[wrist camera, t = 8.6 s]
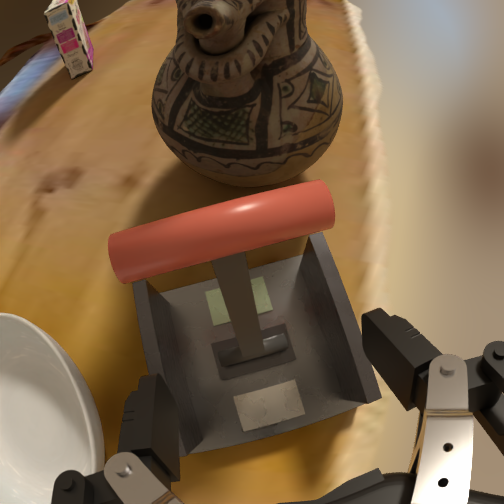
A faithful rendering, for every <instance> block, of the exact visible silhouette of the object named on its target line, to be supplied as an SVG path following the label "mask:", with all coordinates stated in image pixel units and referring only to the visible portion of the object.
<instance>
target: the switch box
mask: <svg viewBox="0 0 504 504" xmlns="http://www.w3.org/2000/svg"><path fill="white" fill-rule="evenodd" d="M248 270H249V275H250V280H251V285H252V290H253V295H254V300H255V305H256V309H257V314H258V319H259V324H260V329H261V334H262V339H266V338H269V337H273V336H276V335H280V334H283V333H284V335H285V337H286V340H287V343H288V349H285V350H282V351H279V352H275V353H272V354H269V355H265V356H262V357H258V358H255V359H251V360H247V361H244V362H240V363H236V364H232V365H228V366H224V367H222V366H221V364H220V361H219V357H218V351H222V350H226V349H230V348H233V347H237V346H239V344H238V341H237V338H236V335H235V332H234V329H233V326H232V323H231V320H230V317H229V314H228V311H227V308H226V305H225V302H224V299H223V296H222V293H221V290H220V287H219V284H218V281H217V278H215V279H211V280H207V281H204V282H200V283H196V284H192V285H189V286H185V287H181V288H177V289H173V290H170V291H166V292H162V293H159V292H158V291H157V290H156V289H155V288H154V287H153V286H152V285H151V284H150V283H149V282H148V281H147V280H146V279H145V280H141V281H138V282H134V283H132V284H133V291H134V298H135V304H136V310H137V316H138V322H139V328H140V333H141V338H142V344H143V349H144V353H145V358H146V363H147V368H148V372H149V375H152V374H157V373H159V374H160V375H161V376H162V378H163V379H164V381H165V383H166V385H167V387H168V389H169V390H170V392H171V394H172V396H173V397H174V399H175V401H176V404H177V408H178V418H179V457H182V456H187V455H188V454H192V453H198V452H204V451H209V450H214V449H220V448H224V447H229V446H234V445H238V444H242V443H247V442H251V441H255V440H259V439H262V438H266V437H270V436H274V435H277V434H281V433H284V432H287V431H291V430H294V429H297V428H300V427H303V426H306V425H309V424H312V423H315V422H318V421H321V420H324V419H327V418H330V417H332V416H335V415H338V414H340V413H343V412H346V411H348V410H351V409H353V408H356V407H358V406H361V405H363V404H365V403H366V404H369V403H371V402H374V401H376V400H378V399H380V398H382V396H381V393H380V390H379V387H378V383H377V380H376V377H375V374H374V371H373V368H372V365H371V362H370V361H369V360H368V358H367V357H366V355H365V353H364V350H363V346H362V335H361V332H360V329H359V326H358V323H357V321H356V318H355V315H354V312H353V310H352V307H351V304H350V301H349V299H348V296H347V293H346V291H345V288H344V285H343V283H342V280H341V278H340V275H339V272H338V270H337V267H336V265H335V262H334V260H333V257H332V255H331V252H330V250H329V247H328V245H327V242H326V240H325V238H324V235H323V233H322V232H320V233H316V234H313V235H309V237H308V240H307V244H306V247H305V250H304V253H303V255H299V256H295V257H292V258H288V259H285V260H281V261H277V262H274V263H270V264H267V265H263V266H259V267H256V268H252V269H248Z"/></svg>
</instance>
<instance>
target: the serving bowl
mask: <svg viewBox="0 0 504 504" xmlns="http://www.w3.org/2000/svg"><path fill="white" fill-rule="evenodd" d="M104 463H105V447H104V437H103V431H102V426H101V421H100V417H99V414H98V410H97V407H96V404H95V402H94V399H93V396H92V394H91V392H90V390H89V388H88V386H87V384H86V381H85V380H84V378H83V376H82V374H81V373H80V371H79V369H78V368H77V366H76V365H75V363H74V362H73V361H72V359H71V358H70V357H69V355H68V354H67V353H66V352H65V351H64V349H63V348H62V347H61V346H60V345H59V344H58V343H57V342H56V341H55V340H54V339H53V338H52V337H51V336H49V335H48V334H47V333H46V332H44V331H43V330H42V329H40V328H39V327H37V326H36V325H34V324H33V323H31V322H29V321H28V320H26V319H24V318H22V317H19V316H17V315H13V314H9V313H0V504H51V500H52V493H53V487H54V482H55V480H56V478H57V477H58V476H59V475H60V474H61V473H62V472H64V471H67V470H76V471H78V472H80V473H81V474H82V475H83V476H87V475H90V474H93V473H96V472H99V471H102V470H104Z"/></svg>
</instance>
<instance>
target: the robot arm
mask: <svg viewBox="0 0 504 504" xmlns="http://www.w3.org/2000/svg"><path fill="white" fill-rule="evenodd" d="M361 322H362V346H363V350H364V353H365V355H366V357H367V358H368V360H369V361H370V362H371V364H372V365H373V366H374V368H375V369H376V370H377V372H378V373H379V374H380V376H381V377H382V378H383V380H384V381H385V382H386V384H387V385H388V386H389V388H390V389H391V390H392V392H393V393H394V394H395V396H396V397H397V398H398V400H399V401H400V402H401V404H402V405H403V407H404V408H405V409H406V411H409V410H411V409H412V408H415V407H417V408H418V409H419V411H420V412H419V417H418V423H417V430H416V436H415V442H414V447H413V453H412V457H411V461H410V464H409V468H408V472H407V473H402V472H396V473H386V474H381V472H380V470H379V468H377V469H375V470H372V471H370V472H368V473H365V474H363V475H361V476H358V477H356V478H353V479H351V480H348V481H347V482H345V483H344V484H342V485H341V486H339V487H337V488H336V489H334V490H333V491H331V492H329V493H328V494H326V495H324V496H323V497H321V498H319V499H317V500H311V501H301V502H287V503H278V504H504V496H499V495H493V494H488V493H484V492H479V491H475V490H470V489H469V483H470V474H471V463H472V448H473V415H474V417H475V418H476V419H477V420H478V422H479V423H480V424H481V426H482V427H483V428H484V430H485V431H486V432H487V434H488V435H489V436H490V438H491V439H492V441H493V442H494V443H495V444H496V446H497V447H498V449H499V450H500V451H501V453H502V454H503V456H504V395H503V394H502V392H503V393H504V342H502V341H494V342H491V343H489V344H488V345H487V346H486V347H485V349H484V352H483V355H482V356H479V357H475V358H471V359H468V360H462V359H461V358H460V357H458V356H456V355H452V354H444V355H443V354H442V353H441V352H440V351H439V350H438V349H437V348H436V347H434V346H433V345H432V344H431V343H430V342H429V341H428V340H427V339H426V338H425V337H424V336H423V335H422V334H420V332H419V331H418V330H417V329H415V328H414V327H413V326H412V325H411V324H410V323H409V322H408V321H407V320H406V319H403V318H401V317H399V316H396V315H393V316H391V317H390V316H389V315H388V314H387V313H386V312H385V311H384V310H383V309H381V308H377V309H375V310H372V311H369V312H367V313H364V314H362V317H361ZM122 421H123V423H122V424H121V431H120V437H119V444H118V452H117V454H115V455H114V456H112V457H111V458H110V459H109V460H108V461H107V463H106V464H105V467H104V470H102V471H99V472H96V473H93V474H90V475H87V476H83V475H82V474H81V473H80V472H78V471H76V470H67V471H64V472H62V473H61V474H60V475H59V476H58V477H57V478H56V480H55V482H54V487H53V493H52V500H51V504H184V503H183V502H182V501H181V500H180V499H179V498H178V497H177V496H176V495H175V494H174V493H173V492H171V482H176V481H180V462H179V418H178V408H177V404H176V401H175V399H174V397H173V396H172V394H171V392H170V390H169V389H168V387H167V385H166V383H165V381H164V379H163V378H162V376H161V375H160V374H159V373H157V374H152V375H147V376H142V377H140V379H139V385H138V391H132V392H131V393H130V395H129V397H128V398H127V400H126V401H125V406H124V414H123V418H122Z"/></svg>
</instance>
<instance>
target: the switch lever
mask: <svg viewBox="0 0 504 504" xmlns="http://www.w3.org/2000/svg"><path fill="white" fill-rule="evenodd" d="M334 223H335V209H334V204H333V200H332V197H331V194H330V192H329V189H328V187H327V186H326V184H325V183H324V182H323V181H322V180H320V179H319V180H314V181H309V182H305V183H300V184H296V185H291V186H287V187H283V188H278V189H274V190H270V191H266V192H262V193H258V194H253V195H249V196H245V197H241V198H237V199H233V200H229V201H226V202H222V203H218V204H214V205H210V206H207V207H203V208H199V209H195V210H192V211H188V212H184V213H181V214H177V215H174V216H170V217H167V218H163V219H160V220H156V221H153V222H149V223H146V224H143V225H139V226H136V227H133V228H129V229H126V230H123V231H120V232H116V233H113V234H111V235H110V236H109V239H108V251H109V257H110V261H111V265H112V267H113V270H114V272H115V274H116V276H117V278H118V279H119V280H120V282H122V283H123V284H126V283H129V282H133V281H137V280H140V279H144V278H148V277H152V276H155V275H159V274H163V273H166V272H170V271H174V270H178V269H181V268H185V267H189V266H192V265H196V264H200V263H204V262H207V261H211V262H212V265H213V268H214V271H215V274H216V277H217V281H218V284H219V287H220V290H221V293H222V296H223V299H224V302H225V305H226V308H227V311H228V314H229V317H230V320H231V323H232V326H233V329H234V332H235V335H236V338H237V341H238V344H239V346H237V347H233V348H230V349H226V350H222V351H218V357H219V361H220V364H221V366H222V367H224V366H228V365H232V364H236V363H240V362H244V361H247V360H251V359H255V358H258V357H262V356H265V355H269V354H272V353H275V352H279V351H282V350H285V349H288V343H287V340H286V337H285V335H284V333H283V334H280V335H276V336H273V337H269V338H266V339H262V334H261V329H260V324H259V319H258V314H257V309H256V305H255V300H254V295H253V290H252V285H251V280H250V275H249V270H248V265H247V260H246V255H245V251H248V250H252V249H256V248H259V247H263V246H267V245H271V244H274V243H278V242H282V241H286V240H289V239H293V238H297V237H301V236H304V235H308V234H312V233H316V232H319V231H323V230H327V229H331V228H332V227H333V226H334Z"/></svg>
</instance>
